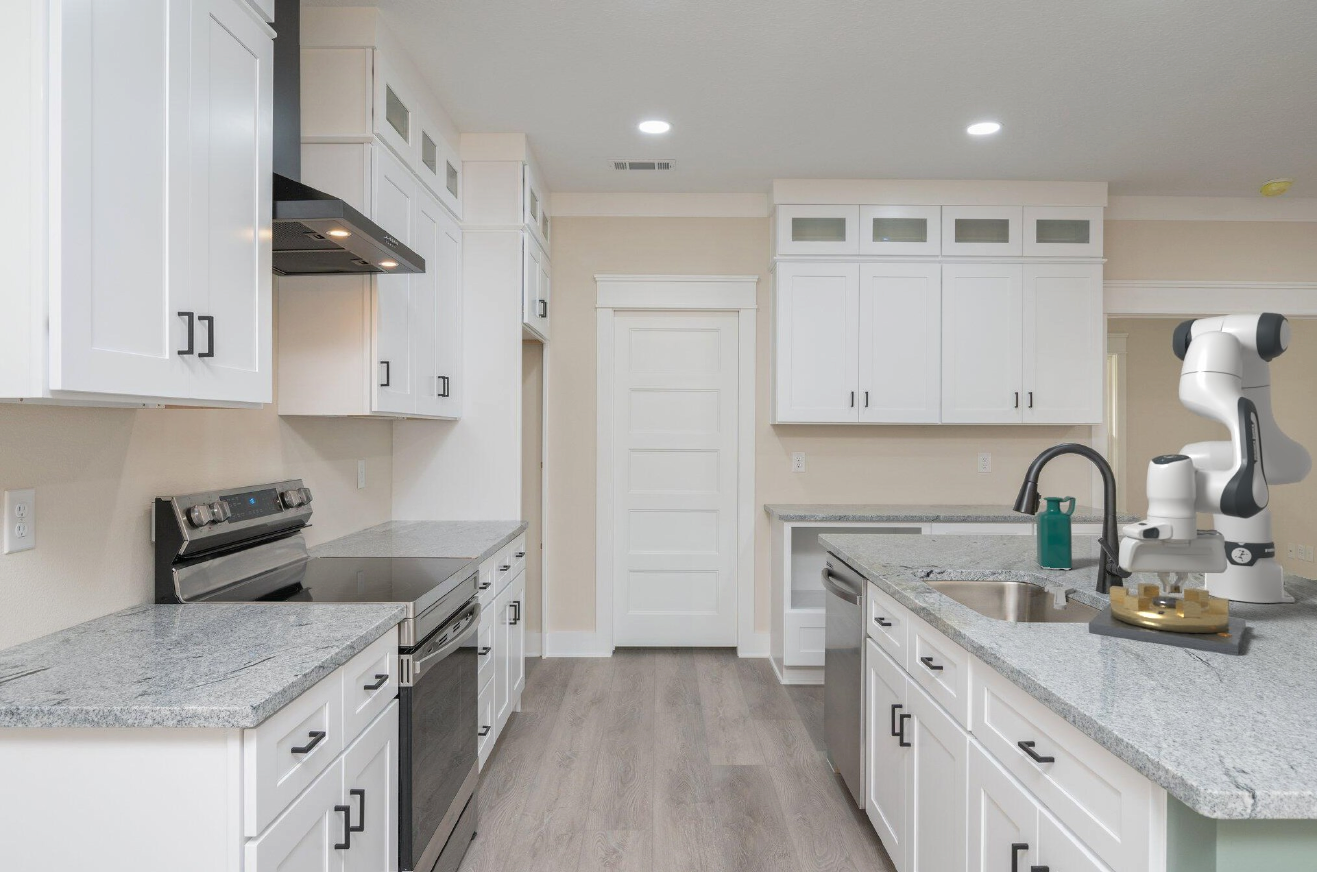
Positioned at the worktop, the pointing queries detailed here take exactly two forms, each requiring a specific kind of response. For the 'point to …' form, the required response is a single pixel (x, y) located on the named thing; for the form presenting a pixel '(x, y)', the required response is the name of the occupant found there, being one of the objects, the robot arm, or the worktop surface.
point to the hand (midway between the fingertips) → (1172, 592)
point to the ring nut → (1170, 609)
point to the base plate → (1172, 634)
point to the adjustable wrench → (1059, 595)
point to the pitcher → (1055, 534)
